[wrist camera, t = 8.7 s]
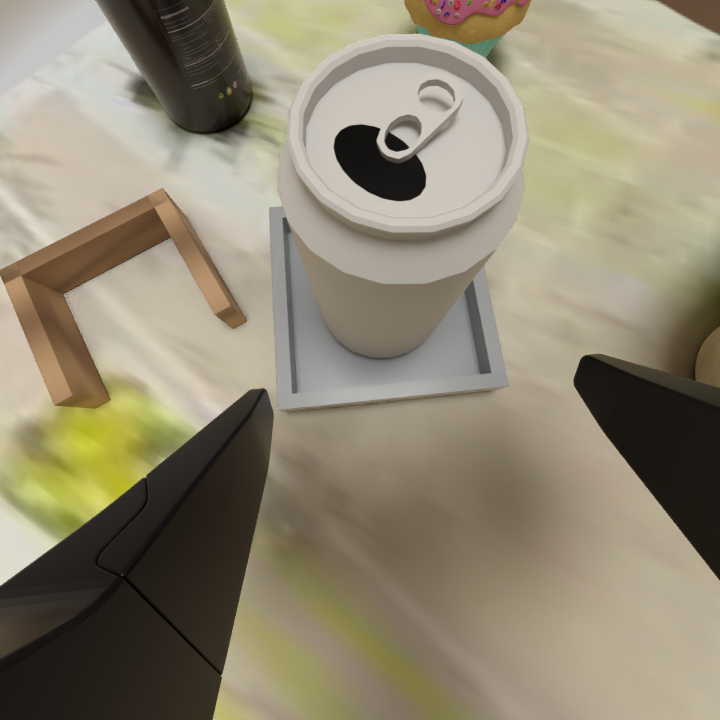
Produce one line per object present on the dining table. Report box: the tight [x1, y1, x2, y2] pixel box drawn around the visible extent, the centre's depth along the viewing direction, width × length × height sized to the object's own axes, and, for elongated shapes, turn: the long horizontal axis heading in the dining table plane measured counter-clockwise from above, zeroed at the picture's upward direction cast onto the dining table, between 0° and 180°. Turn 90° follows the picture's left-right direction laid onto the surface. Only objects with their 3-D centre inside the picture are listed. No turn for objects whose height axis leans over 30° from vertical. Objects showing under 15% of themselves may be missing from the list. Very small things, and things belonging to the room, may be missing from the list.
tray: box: [269, 206, 509, 412], centre depth 19 cm, size 13×13×2 cm
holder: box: [0, 188, 247, 408], centre depth 19 cm, size 9×10×2 cm
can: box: [277, 34, 529, 358], centre depth 13 cm, size 8×8×12 cm
